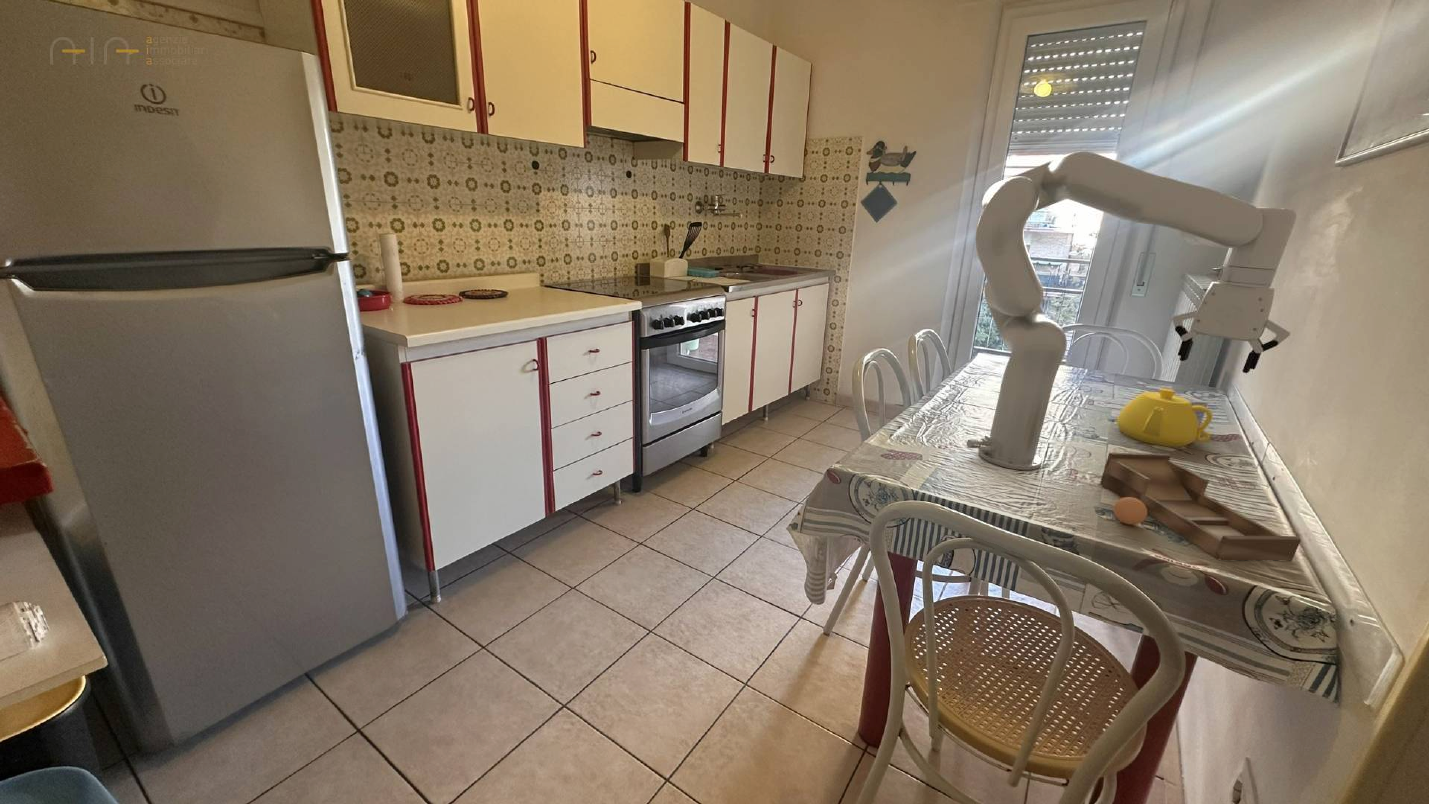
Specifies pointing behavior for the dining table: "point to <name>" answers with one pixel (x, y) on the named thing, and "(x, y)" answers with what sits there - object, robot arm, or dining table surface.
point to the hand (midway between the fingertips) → (1213, 365)
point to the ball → (1130, 510)
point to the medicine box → (1195, 402)
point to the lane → (1192, 508)
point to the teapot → (1163, 419)
